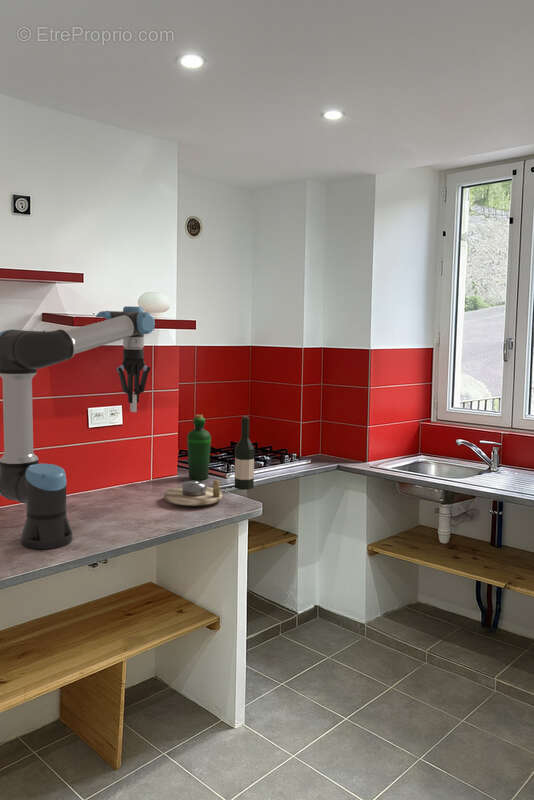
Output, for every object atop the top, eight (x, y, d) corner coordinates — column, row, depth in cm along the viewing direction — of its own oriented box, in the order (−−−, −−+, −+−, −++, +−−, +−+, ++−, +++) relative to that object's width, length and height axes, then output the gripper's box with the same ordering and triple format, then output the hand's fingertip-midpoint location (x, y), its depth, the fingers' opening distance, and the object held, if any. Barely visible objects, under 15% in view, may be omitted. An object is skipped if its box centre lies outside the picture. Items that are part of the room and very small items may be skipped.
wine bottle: (256, 485, 277) (258, 415, 273) (250, 490, 269) (252, 418, 265) (237, 483, 279) (239, 414, 275) (231, 488, 271) (232, 417, 267)
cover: (199, 497, 245) (199, 485, 244) (178, 494, 248) (178, 483, 248) (209, 492, 253) (210, 480, 253) (189, 489, 256) (189, 477, 256)
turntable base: (183, 509, 240) (183, 505, 240) (165, 498, 253) (165, 495, 253) (221, 503, 249) (221, 500, 249) (202, 493, 262) (202, 490, 262)
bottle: (212, 476, 291) (213, 413, 288) (208, 481, 281) (209, 417, 277) (189, 474, 292) (189, 412, 289) (183, 480, 282) (184, 416, 278)
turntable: (207, 508, 237) (207, 488, 236) (153, 501, 244) (153, 481, 243) (231, 493, 257) (231, 475, 257) (181, 487, 265) (181, 469, 264)
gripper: (120, 349, 236) (120, 413, 238) (153, 348, 243) (153, 411, 246) (112, 348, 242) (113, 411, 245) (146, 347, 249) (145, 409, 252)
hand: (133, 411), depth 245 cm, fingers closed
